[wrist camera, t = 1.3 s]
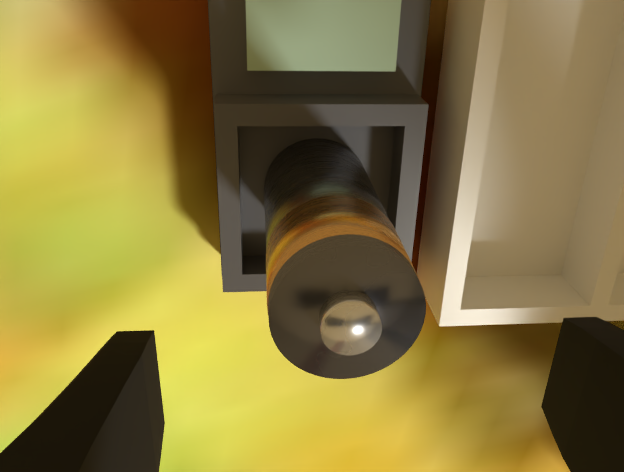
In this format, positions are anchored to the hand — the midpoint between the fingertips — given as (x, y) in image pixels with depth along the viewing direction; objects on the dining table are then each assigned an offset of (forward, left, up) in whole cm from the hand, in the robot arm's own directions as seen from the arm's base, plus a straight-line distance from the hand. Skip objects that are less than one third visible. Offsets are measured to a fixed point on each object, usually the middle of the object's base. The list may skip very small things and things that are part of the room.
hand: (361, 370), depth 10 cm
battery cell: (0, 0, -9) cm, 9 cm away
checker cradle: (+2, 0, -10) cm, 10 cm away
